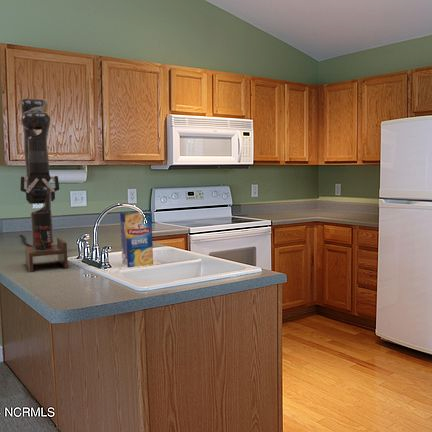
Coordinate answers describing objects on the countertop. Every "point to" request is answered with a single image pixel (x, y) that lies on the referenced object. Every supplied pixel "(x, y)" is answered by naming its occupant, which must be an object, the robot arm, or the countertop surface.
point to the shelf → (48, 253)
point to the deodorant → (42, 231)
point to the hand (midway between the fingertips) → (40, 201)
